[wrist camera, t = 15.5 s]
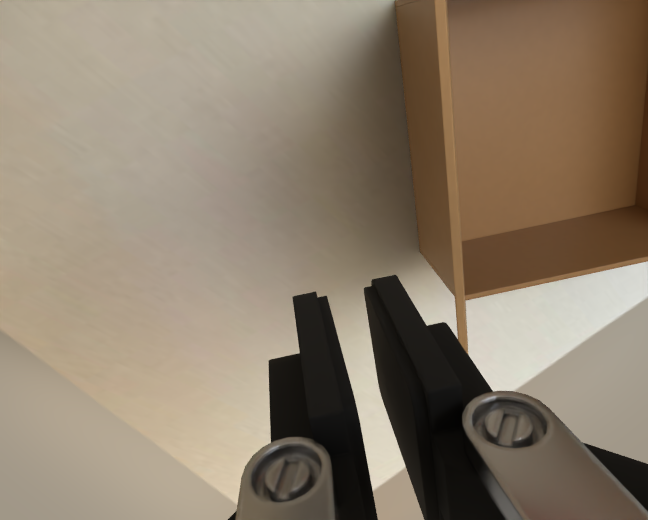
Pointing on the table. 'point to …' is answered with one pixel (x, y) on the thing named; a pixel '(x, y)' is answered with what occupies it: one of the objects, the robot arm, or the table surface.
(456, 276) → the carton flap
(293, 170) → the table surface
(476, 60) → the carton
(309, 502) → the robot arm
